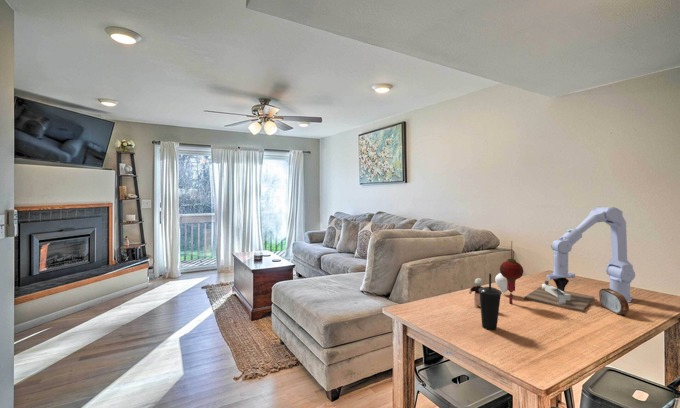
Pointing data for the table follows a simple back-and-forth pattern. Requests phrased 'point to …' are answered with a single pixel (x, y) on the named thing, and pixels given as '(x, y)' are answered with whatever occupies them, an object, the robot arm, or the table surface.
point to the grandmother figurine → (477, 292)
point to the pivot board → (576, 300)
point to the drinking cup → (489, 306)
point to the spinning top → (501, 282)
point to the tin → (614, 301)
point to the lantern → (511, 273)
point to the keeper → (560, 296)
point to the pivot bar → (548, 289)
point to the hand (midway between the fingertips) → (560, 293)
